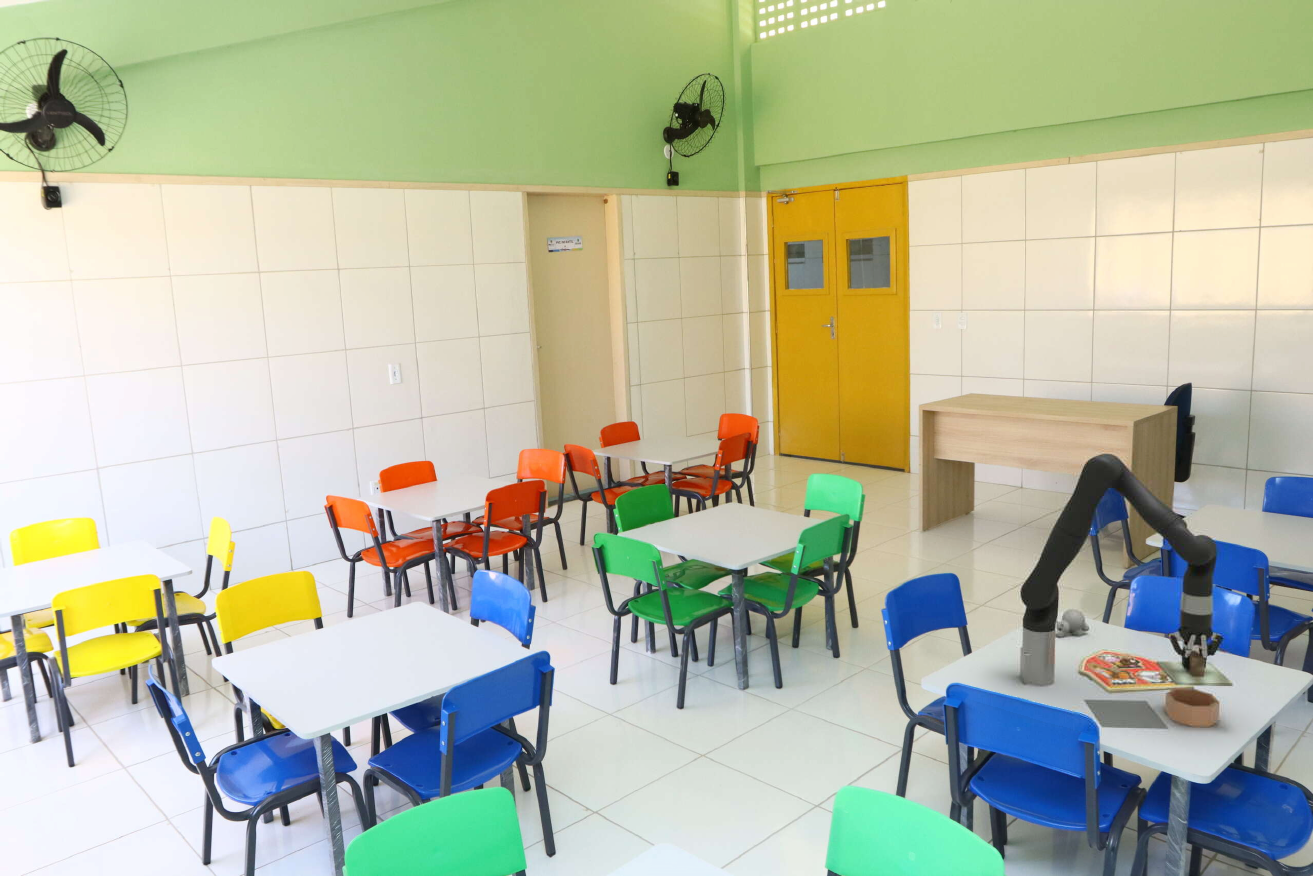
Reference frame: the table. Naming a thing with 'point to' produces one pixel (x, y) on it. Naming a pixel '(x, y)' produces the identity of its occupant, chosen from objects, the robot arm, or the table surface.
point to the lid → (1194, 672)
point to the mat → (1125, 714)
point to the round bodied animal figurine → (1071, 623)
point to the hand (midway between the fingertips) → (1193, 668)
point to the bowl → (1192, 707)
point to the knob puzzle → (1126, 672)
